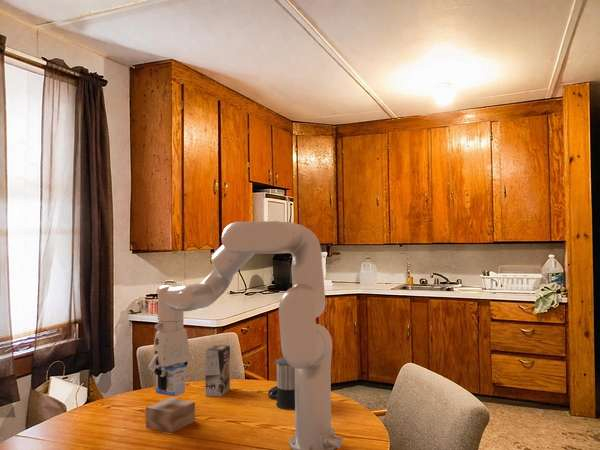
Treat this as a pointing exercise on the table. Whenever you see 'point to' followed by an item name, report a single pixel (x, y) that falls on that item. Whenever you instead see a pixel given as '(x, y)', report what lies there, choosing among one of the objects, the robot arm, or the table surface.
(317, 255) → the robot arm
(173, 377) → the medicine box
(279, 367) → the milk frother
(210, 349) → the coffee box
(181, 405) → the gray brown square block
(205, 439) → the table surface
